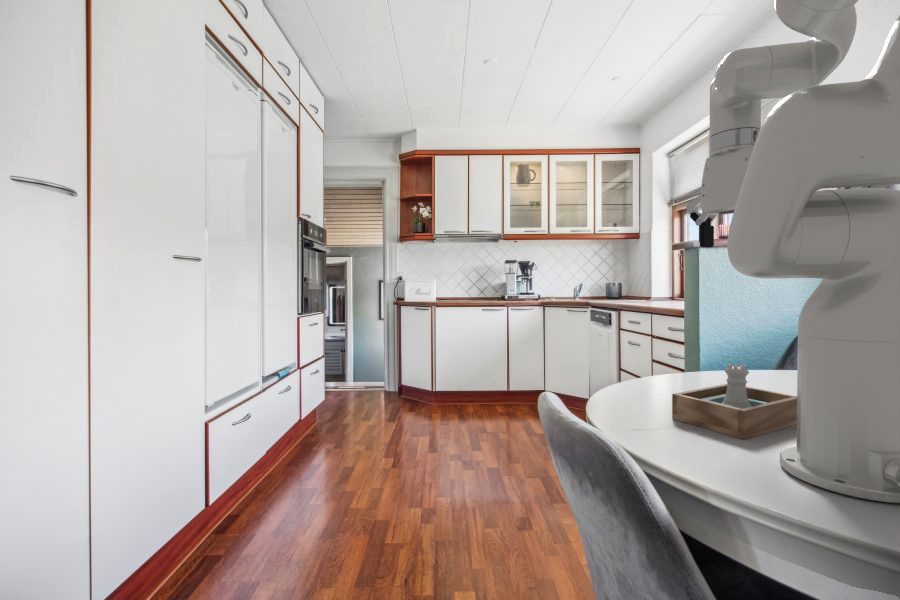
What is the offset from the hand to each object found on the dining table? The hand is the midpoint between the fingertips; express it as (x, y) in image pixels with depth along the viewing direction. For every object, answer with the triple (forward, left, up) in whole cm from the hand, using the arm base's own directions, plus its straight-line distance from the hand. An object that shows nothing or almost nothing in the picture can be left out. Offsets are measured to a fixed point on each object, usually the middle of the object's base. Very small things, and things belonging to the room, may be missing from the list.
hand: (733, 244), depth 77 cm
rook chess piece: (-8, +7, -28) cm, 30 cm away
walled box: (-8, +7, -28) cm, 30 cm away
